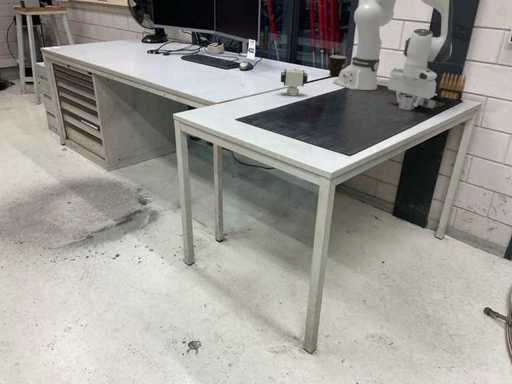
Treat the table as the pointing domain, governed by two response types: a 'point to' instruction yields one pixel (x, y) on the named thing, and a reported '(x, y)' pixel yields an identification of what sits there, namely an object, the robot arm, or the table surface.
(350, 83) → the robot arm
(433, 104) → the shaft stand
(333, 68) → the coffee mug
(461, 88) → the ammunition clip
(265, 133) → the table surface
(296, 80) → the pneumatic valve
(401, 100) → the hub
